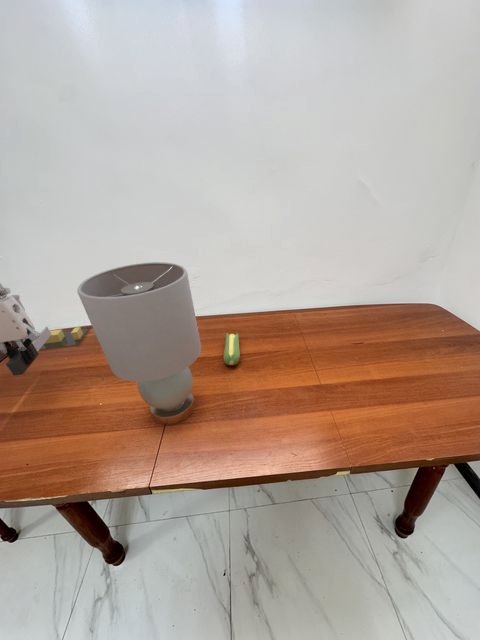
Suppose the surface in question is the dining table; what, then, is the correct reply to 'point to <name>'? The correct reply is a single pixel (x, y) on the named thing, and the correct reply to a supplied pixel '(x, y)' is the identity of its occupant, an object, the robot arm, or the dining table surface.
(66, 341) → the slate board
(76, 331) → the butter slice
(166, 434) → the dining table surface
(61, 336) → the butter block
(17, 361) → the knife
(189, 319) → the lamp
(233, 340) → the edible corn
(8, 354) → the robot arm
